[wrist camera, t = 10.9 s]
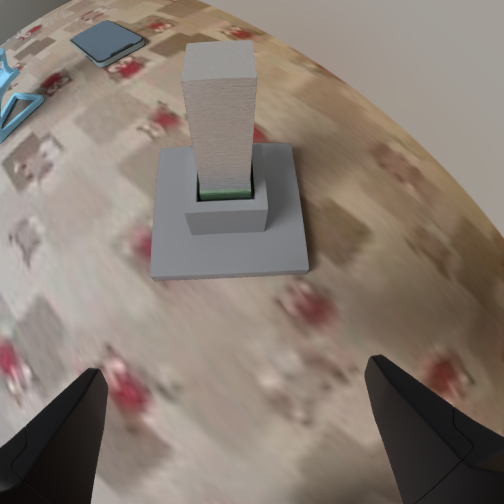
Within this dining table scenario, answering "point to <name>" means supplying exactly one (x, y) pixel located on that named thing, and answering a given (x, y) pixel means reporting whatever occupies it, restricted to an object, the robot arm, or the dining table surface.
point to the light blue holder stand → (13, 98)
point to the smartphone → (107, 43)
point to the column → (221, 115)
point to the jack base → (228, 220)
